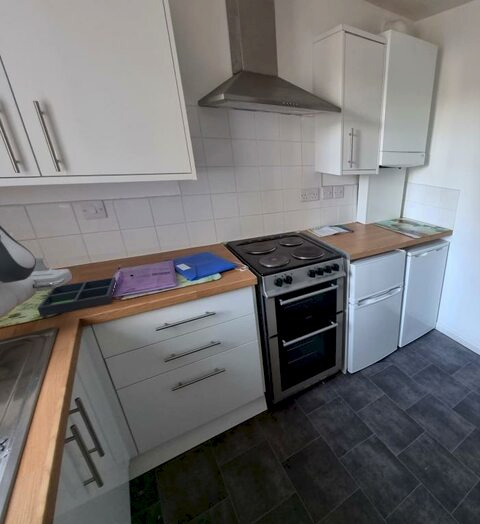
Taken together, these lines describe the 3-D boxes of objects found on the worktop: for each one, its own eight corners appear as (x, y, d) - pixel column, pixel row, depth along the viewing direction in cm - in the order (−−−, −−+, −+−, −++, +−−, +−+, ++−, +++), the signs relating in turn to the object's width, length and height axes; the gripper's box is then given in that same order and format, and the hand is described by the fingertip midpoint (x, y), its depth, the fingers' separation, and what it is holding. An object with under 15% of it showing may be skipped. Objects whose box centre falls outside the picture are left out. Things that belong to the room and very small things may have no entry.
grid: (40, 317, 103) (37, 308, 102) (57, 294, 119) (54, 286, 118) (110, 304, 113) (108, 295, 111) (117, 284, 128) (115, 277, 127)
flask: (55, 280, 105) (45, 253, 101) (65, 285, 102) (56, 257, 98) (27, 288, 98) (16, 260, 95) (37, 293, 96) (26, 264, 92)
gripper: (54, 275, 89) (78, 259, 101) (-37, 282, 83) (-1, 264, 95) (61, 294, 91) (83, 276, 103) (-28, 302, 85) (7, 282, 97)
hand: (42, 270), depth 99 cm, fingers closed on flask, 3 cm apart
